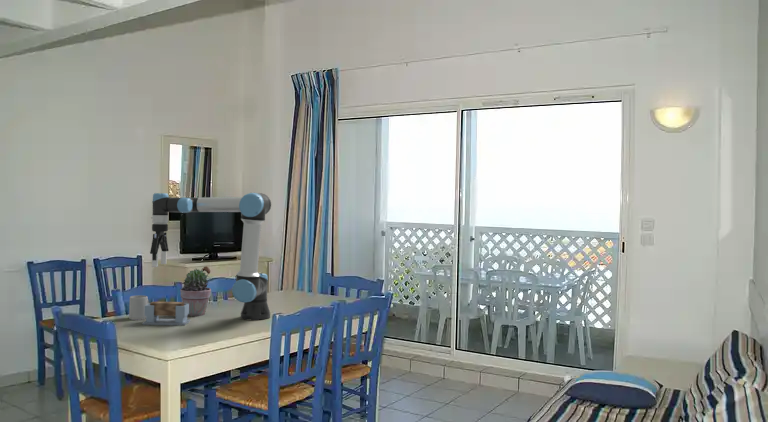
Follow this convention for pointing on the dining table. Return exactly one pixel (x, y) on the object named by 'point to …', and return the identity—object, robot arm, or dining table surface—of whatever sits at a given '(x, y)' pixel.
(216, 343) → the dining table surface
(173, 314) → the tapered block
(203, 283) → the potted plant
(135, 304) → the mug
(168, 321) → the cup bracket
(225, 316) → the dining table surface
